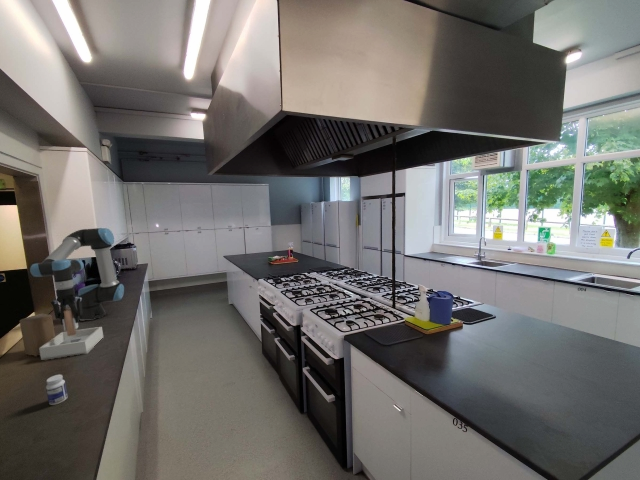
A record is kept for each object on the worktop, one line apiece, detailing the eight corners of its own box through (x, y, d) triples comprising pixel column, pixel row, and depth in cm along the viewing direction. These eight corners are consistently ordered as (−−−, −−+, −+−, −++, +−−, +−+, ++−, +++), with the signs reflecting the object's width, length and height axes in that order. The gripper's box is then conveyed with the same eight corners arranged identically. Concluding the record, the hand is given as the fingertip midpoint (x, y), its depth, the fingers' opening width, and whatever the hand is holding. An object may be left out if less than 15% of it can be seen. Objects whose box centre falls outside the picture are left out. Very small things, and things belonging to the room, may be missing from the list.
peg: (69, 333, 161) (66, 309, 159) (78, 332, 162) (74, 308, 160) (65, 336, 157) (61, 311, 156) (74, 335, 158) (70, 310, 157)
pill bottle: (56, 396, 119) (52, 374, 118) (71, 395, 119) (67, 372, 118) (44, 406, 113) (40, 382, 112) (60, 404, 114) (56, 381, 112)
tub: (63, 343, 168) (61, 332, 167) (103, 337, 173) (101, 326, 172) (41, 361, 149) (39, 348, 148) (86, 353, 154) (85, 341, 153)
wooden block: (58, 348, 162) (52, 314, 160) (36, 357, 153) (29, 321, 150) (47, 346, 166) (41, 312, 163) (24, 355, 156) (18, 319, 154)
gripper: (41, 291, 151) (48, 334, 153) (79, 287, 155) (86, 329, 158) (50, 288, 158) (56, 328, 161) (86, 284, 162) (92, 324, 165)
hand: (71, 328), depth 159 cm, fingers closed on peg, 4 cm apart
